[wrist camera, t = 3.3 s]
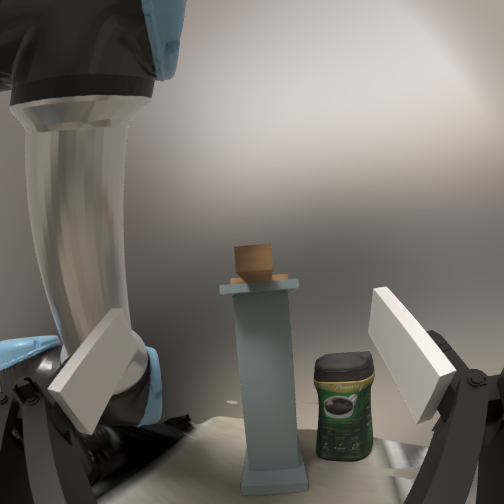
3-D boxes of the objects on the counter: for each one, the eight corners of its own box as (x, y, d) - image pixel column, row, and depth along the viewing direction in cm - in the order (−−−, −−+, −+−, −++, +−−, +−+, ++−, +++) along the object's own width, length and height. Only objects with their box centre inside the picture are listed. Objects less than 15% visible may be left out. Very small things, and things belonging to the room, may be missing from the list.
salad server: (205, 275, 21) (203, 249, 21) (239, 291, 47) (238, 280, 47) (304, 266, 21) (301, 240, 21) (283, 287, 46) (282, 276, 47)
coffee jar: (375, 440, 35) (377, 345, 39) (366, 464, 29) (370, 357, 32) (325, 439, 40) (323, 349, 44) (309, 459, 34) (306, 359, 37)
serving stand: (241, 495, 25) (219, 285, 31) (249, 446, 41) (235, 291, 47) (307, 490, 25) (298, 278, 31) (297, 442, 41) (287, 287, 46)
